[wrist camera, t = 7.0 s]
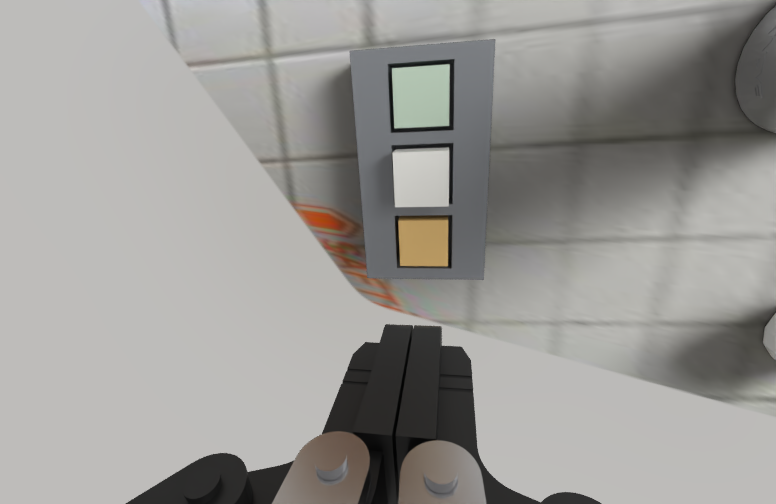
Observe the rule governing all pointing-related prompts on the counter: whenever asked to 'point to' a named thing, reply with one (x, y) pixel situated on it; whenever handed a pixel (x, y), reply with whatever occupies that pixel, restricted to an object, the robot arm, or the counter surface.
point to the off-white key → (421, 177)
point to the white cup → (770, 336)
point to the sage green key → (421, 96)
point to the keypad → (461, 136)
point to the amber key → (423, 240)
